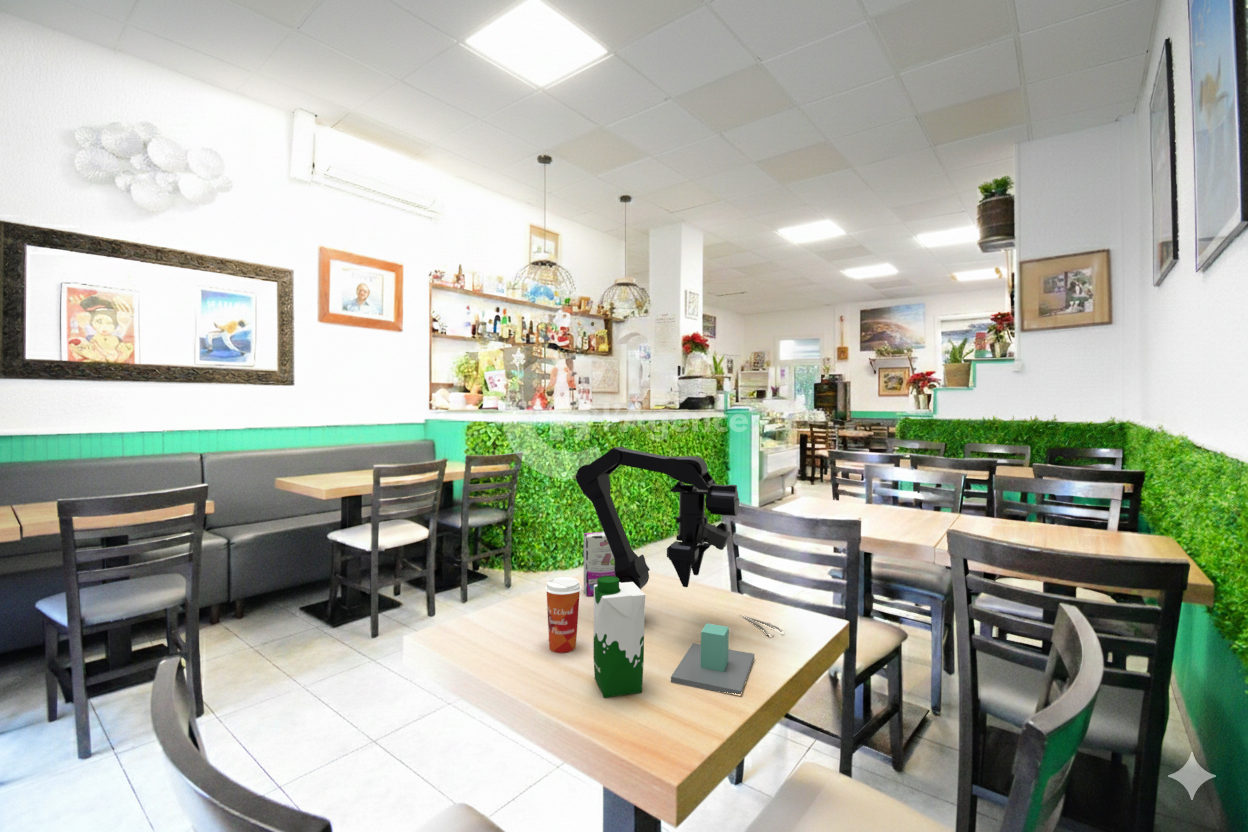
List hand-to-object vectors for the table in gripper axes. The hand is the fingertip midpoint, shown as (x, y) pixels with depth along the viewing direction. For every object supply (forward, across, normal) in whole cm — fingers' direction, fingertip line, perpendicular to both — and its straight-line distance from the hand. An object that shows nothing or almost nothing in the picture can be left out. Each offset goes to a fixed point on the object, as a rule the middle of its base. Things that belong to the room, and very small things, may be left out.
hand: (690, 580), depth 125 cm
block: (+11, -15, -9) cm, 21 cm away
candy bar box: (+12, +17, +29) cm, 36 cm away
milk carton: (+12, -28, +6) cm, 31 cm away
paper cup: (+12, -18, +23) cm, 32 cm away
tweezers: (+13, +12, -12) cm, 22 cm away
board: (+12, -15, -9) cm, 21 cm away
